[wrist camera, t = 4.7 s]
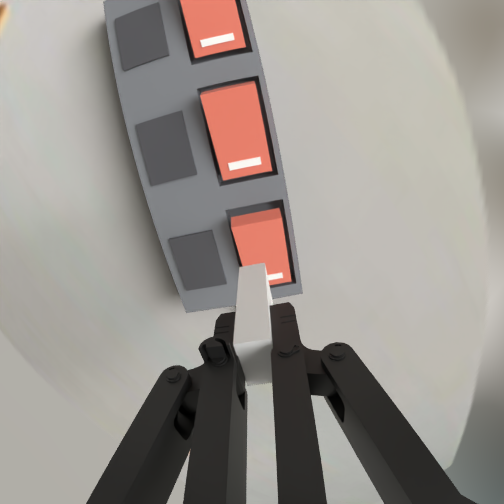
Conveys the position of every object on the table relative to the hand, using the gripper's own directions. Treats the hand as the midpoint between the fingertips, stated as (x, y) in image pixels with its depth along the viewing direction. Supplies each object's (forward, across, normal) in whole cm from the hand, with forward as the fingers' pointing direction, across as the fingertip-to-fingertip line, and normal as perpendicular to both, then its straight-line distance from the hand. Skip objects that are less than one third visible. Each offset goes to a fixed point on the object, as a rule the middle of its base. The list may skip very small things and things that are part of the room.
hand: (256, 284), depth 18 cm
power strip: (+15, -3, +4) cm, 16 cm away
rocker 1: (+10, 0, +20) cm, 23 cm away
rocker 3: (+11, 0, -3) cm, 11 cm away
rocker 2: (+11, 0, +9) cm, 14 cm away
